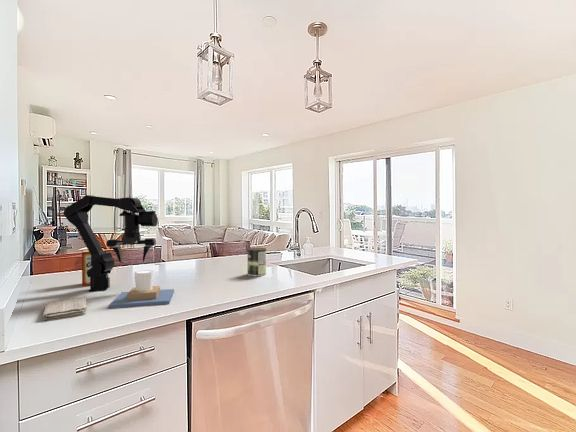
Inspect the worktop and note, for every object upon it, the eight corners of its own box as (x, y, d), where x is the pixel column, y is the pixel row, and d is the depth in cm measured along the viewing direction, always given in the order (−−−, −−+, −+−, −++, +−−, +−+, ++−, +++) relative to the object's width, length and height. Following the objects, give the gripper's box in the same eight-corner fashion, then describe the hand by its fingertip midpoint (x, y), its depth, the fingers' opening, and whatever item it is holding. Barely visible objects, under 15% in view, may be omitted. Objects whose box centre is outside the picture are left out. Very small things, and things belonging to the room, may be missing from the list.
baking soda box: (82, 286, 141) (81, 251, 141) (82, 283, 147) (82, 249, 146) (106, 283, 146) (106, 249, 146) (105, 281, 152) (105, 248, 152)
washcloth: (42, 323, 95) (42, 313, 95) (44, 308, 110) (44, 300, 110) (88, 316, 102) (88, 306, 102) (84, 303, 117) (84, 295, 117)
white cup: (134, 292, 115) (134, 274, 115) (134, 288, 121) (134, 271, 121) (154, 290, 118) (154, 272, 118) (153, 286, 125) (153, 269, 124)
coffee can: (248, 276, 161) (248, 250, 161) (246, 273, 171) (246, 247, 171) (267, 275, 164) (267, 249, 164) (264, 272, 174) (264, 247, 174)
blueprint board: (108, 308, 109) (108, 297, 109) (122, 295, 126) (121, 286, 126) (169, 303, 114) (169, 293, 114) (174, 291, 131) (173, 283, 131)
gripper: (102, 227, 125) (102, 266, 125) (152, 227, 130) (152, 264, 130) (110, 226, 135) (110, 261, 136) (156, 225, 140) (156, 260, 140)
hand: (132, 262), depth 135 cm, fingers open, 9 cm apart
